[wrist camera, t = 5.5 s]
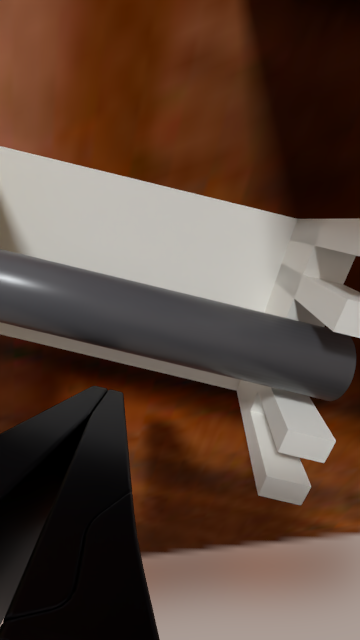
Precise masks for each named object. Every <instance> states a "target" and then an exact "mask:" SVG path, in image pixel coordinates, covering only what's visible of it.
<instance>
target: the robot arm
mask: <svg viewBox="0 0 360 640" xmlns="http://www.w3.org/2000/svg"><path fill="white" fill-rule="evenodd" d="M3 619H4V621H3V624H2V625H1V627H0V640H159V635H158V631H157V626H156V622H155V618H154V613H153V609H152V604H151V600H150V595H149V591H148V587H147V582H146V578H145V573H144V569H143V564H142V559H141V553H140V548H139V543H138V538H137V530H136V522H135V515H134V505H133V495H132V485H131V474H130V463H129V452H128V441H127V430H126V419H125V408H124V397H123V393H122V392H119V391H114V390H107V389H106V388H102V387H98V386H92V387H90V388H88V389H86V390H84V391H82V392H80V393H78V394H76V395H74V396H73V397H71V398H69V399H67V400H65V401H63V402H61V403H59V404H57V405H55V406H53V407H51V408H49V409H47V410H45V411H44V412H42V413H40V414H38V415H36V416H34V417H32V418H30V419H28V420H26V421H24V422H22V423H20V424H18V425H16V426H15V427H13V428H11V429H9V430H7V431H5V432H3V433H1V434H0V624H1V622H2V620H3Z"/></svg>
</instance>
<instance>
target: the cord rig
mask: <svg viewBox="0 0 360 640" xmlns="http://www.w3.org/2000/svg"><path fill="white" fill-rule="evenodd" d="M356 256H359V257H360V219H296V218H292V217H288V216H284V215H279V214H275V213H271V212H267V211H263V210H259V209H255V208H251V207H247V206H243V205H239V204H234V203H230V202H226V201H222V200H218V199H214V198H210V197H206V196H202V195H198V194H194V193H189V192H185V191H181V190H177V189H173V188H169V187H165V186H161V185H157V184H153V183H149V182H145V181H140V180H136V179H132V178H128V177H124V176H120V175H116V174H112V173H108V172H104V171H100V170H95V169H91V168H87V167H83V166H79V165H75V164H71V163H67V162H63V161H59V160H55V159H50V158H46V157H42V156H38V155H34V154H30V153H26V152H22V151H18V150H14V149H10V148H5V147H1V146H0V334H1V335H5V336H10V337H14V338H18V339H22V340H26V341H31V342H35V343H39V344H43V345H47V346H51V347H56V348H60V349H64V350H68V351H72V352H77V353H81V354H85V355H89V356H93V357H98V358H102V359H106V360H110V361H114V362H119V363H123V364H127V365H131V366H135V367H139V368H144V369H148V370H152V371H156V372H160V373H165V374H169V375H173V376H177V377H181V378H186V379H190V380H194V381H198V382H202V383H206V384H211V385H215V386H219V387H223V388H227V389H232V390H236V391H237V395H238V400H239V405H240V410H241V414H242V419H243V424H244V429H245V434H246V439H247V444H248V449H249V454H250V459H251V463H252V468H253V473H254V478H255V483H256V488H257V493H258V496H262V497H267V498H271V499H275V500H279V501H284V502H288V503H292V504H296V505H302V503H303V501H304V499H305V498H306V496H307V494H308V492H309V490H310V488H311V485H310V482H309V480H308V477H307V475H306V472H305V470H304V468H303V465H302V463H301V460H300V458H299V457H301V458H305V459H309V460H313V461H318V462H322V463H325V461H326V459H327V457H328V455H329V453H330V452H331V450H332V448H333V446H334V444H335V442H336V440H335V438H334V437H333V435H332V433H331V432H330V430H329V429H328V427H327V425H326V424H325V422H324V420H323V419H322V417H321V415H320V414H319V412H318V410H317V409H316V407H315V405H314V404H313V402H312V400H311V399H310V397H314V398H319V399H323V400H327V401H333V400H336V399H338V398H339V397H341V396H342V395H343V394H344V393H345V392H346V390H347V389H348V387H349V385H350V383H351V381H352V379H353V376H354V372H355V367H356V350H355V345H354V342H353V340H352V339H351V337H350V336H353V337H358V338H360V292H358V291H356V290H354V289H352V288H350V287H347V286H345V285H343V284H344V282H345V279H346V277H347V275H348V273H349V270H350V268H351V266H352V264H353V261H354V259H355V257H356ZM325 325H326V326H327V327H328V328H326V327H325ZM309 396H310V397H309Z"/></svg>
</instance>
